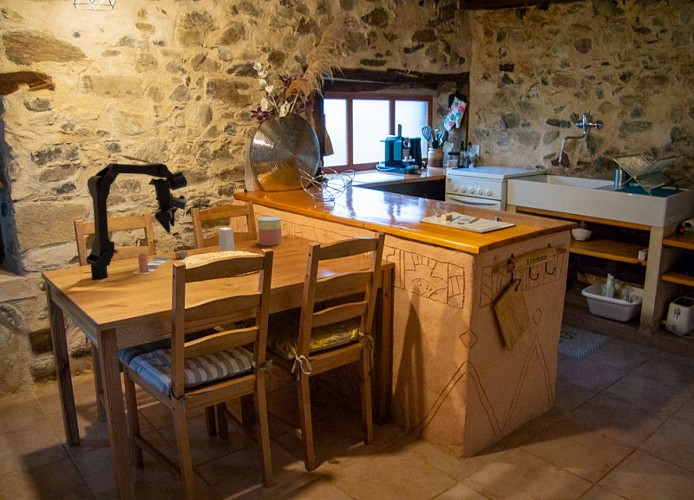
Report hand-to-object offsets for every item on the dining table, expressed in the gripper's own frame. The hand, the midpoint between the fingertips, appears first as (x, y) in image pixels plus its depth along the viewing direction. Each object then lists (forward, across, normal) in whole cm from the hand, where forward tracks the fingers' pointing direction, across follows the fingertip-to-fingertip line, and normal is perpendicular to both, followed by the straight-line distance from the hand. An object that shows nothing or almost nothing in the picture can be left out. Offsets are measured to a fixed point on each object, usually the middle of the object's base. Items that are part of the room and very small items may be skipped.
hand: (171, 229), depth 240 cm
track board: (+13, -7, +9) cm, 18 cm away
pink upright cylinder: (+11, -17, +10) cm, 22 cm away
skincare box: (+18, +12, -19) cm, 29 cm away
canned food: (+22, +33, -38) cm, 55 cm away
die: (+16, +4, -1) cm, 16 cm away
